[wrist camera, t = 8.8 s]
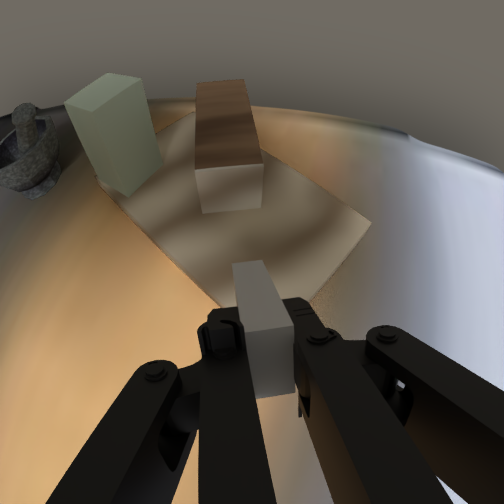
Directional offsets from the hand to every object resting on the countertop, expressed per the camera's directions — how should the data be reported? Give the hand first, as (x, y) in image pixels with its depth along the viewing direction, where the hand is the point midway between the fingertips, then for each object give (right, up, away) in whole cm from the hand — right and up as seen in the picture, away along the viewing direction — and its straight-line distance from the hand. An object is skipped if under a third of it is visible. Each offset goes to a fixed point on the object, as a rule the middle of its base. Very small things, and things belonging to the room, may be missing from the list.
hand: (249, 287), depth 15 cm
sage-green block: (-12, +10, +13) cm, 20 cm away
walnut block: (-2, +6, +8) cm, 10 cm away
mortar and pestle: (-26, +11, +15) cm, 31 cm away
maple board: (-3, +6, +13) cm, 14 cm away
